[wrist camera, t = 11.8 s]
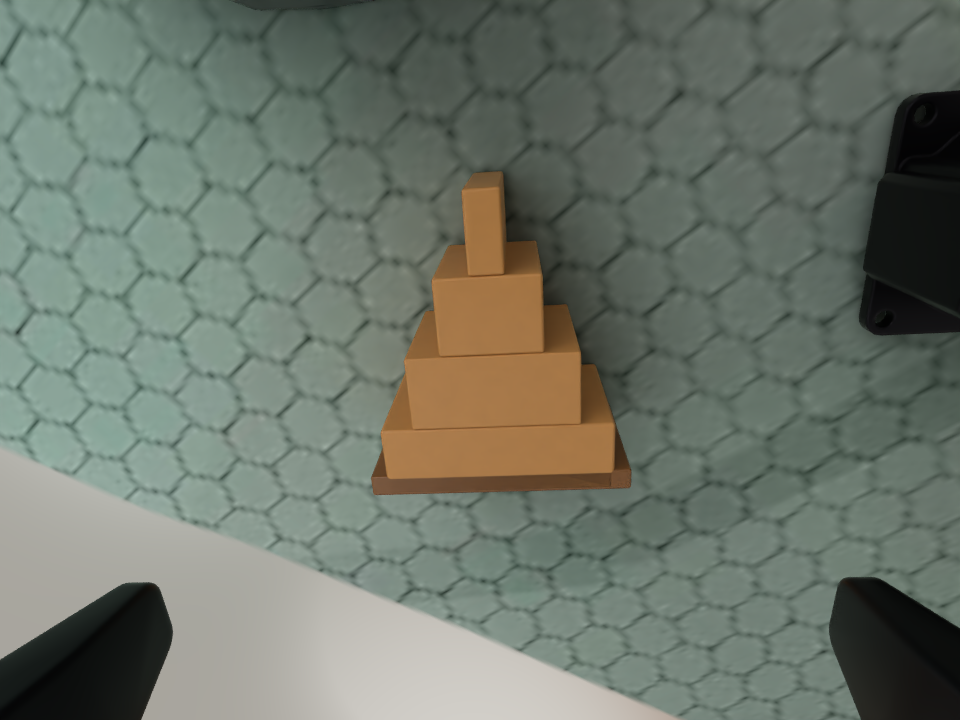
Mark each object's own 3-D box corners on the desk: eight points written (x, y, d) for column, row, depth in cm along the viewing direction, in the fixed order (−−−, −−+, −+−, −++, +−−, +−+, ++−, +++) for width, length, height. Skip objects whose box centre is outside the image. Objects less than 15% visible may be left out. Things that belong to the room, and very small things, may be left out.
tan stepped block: (608, 418, 20) (631, 489, 16) (398, 426, 20) (373, 495, 16) (612, 163, 17) (641, 177, 13) (365, 179, 17) (325, 197, 13)
